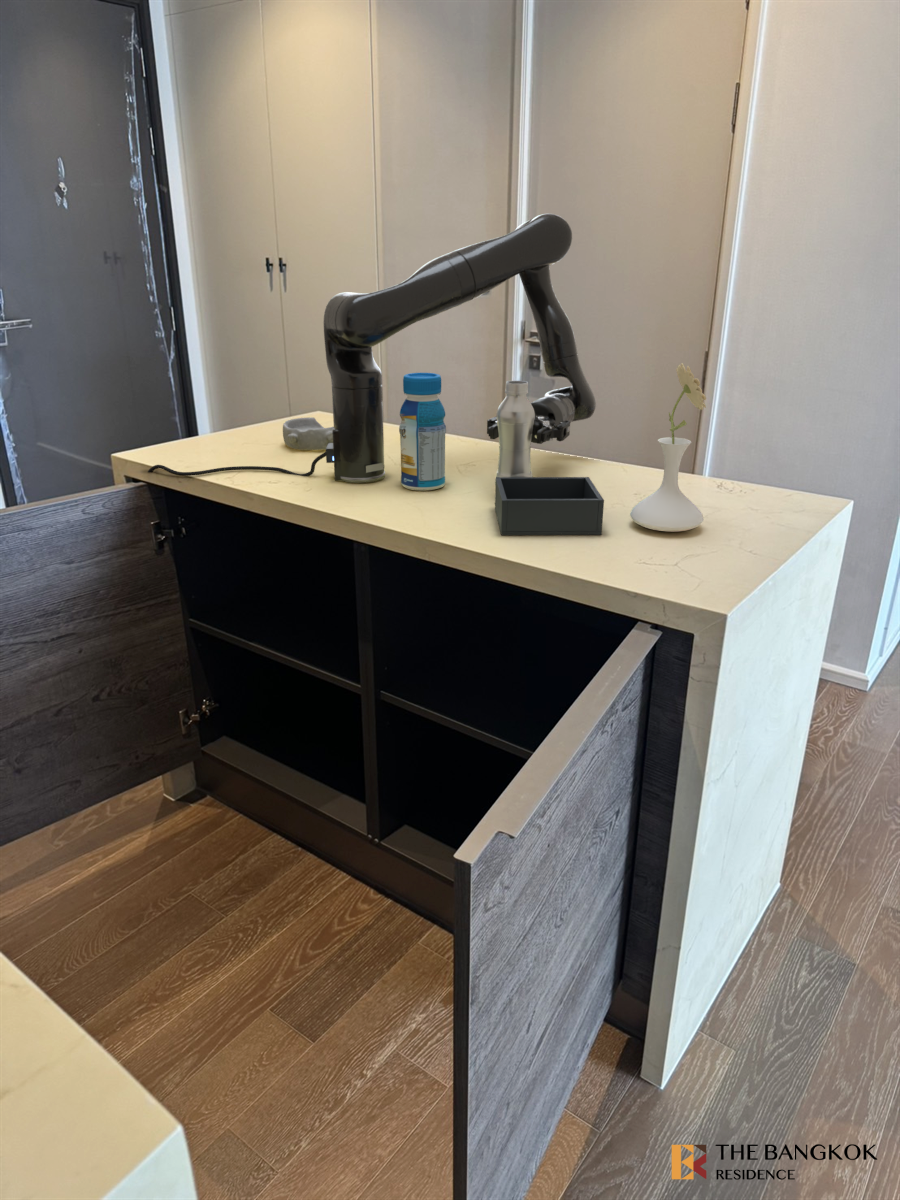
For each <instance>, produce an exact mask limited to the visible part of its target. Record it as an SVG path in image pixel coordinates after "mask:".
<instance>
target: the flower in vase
mask: <svg viewBox="0 0 900 1200" xmlns="http://www.w3.org/2000/svg"><path fill="white" fill-rule="evenodd" d="M675 371H676V374H677V378H678V383H679V385H680V386H681V387H682V391H681V393H680V394H679V396H678V398H677V399H676V401H675V404H674V406H673V407H672V411H671V413H670V412H668V416H669V419H668V421H669V422H670V429H669V431H670V432H671V436H667V437H661V438H657V443H658V444H659V445H660V447H661V450H662V454H663V465H664V466H663V474H662V475H663V476H662V481H661V484H660V486H659V487H658V489H656V490H655V491H654V492H652V493H651V494H649V495H648V496H646V497H645V498H643V499H642V500H640V501H639V502H637V504H635V505H634V506H633V507H632V509H631V511H630V513H629V517H630V518H631V520H632V521H633V523H635V524H637V525H639V526H641V527H643V528H646V529H649V530H654V531H660V532H669V533H670V532H672V533H673V532H685V531H689V530H693V529H696V528H698V527H700V526H701V524H703V522H704V516H703V513H702V511H701V510H700V509H699V507H698V506H697V505H696V504H695V503H694V502H693V501H692V500H691V499H689V497H687V495H685V494H684V493H683V492H682V491H681V489H680V486H679V472H680V467H681V462H682V459H683V456H684V453H685V452H686V450H687V448H689V446H690V445H691V444H692V441H691V440H690V439H688V438H684V437H676V436H675V431H677V430H679V429H681V428H682V427H685V426H686V425H687V422H686V420H685V419H683V420H682V421H681V422H680V423H679V424H677V425H675V421H674V415H675V411H676V408H677V407H678V405H679V403H680V401H681V399H682V397H683V396H684V395H686V397H687V399H689V401H690V403H691V404H692V405H694V408H696V409H698V410H699V411H702V410H704V409H706V408H707V405H706V404H705V402H704V401H706V400H707V397H706V395H705V393H703V389H702V388H701V387H700V385H701V381H700V380H699V378H698V377H695V375H694V373H693V372H692V370H691V367H690V366H689V365H687V366H686V367H685V364H684V363H683V362H681V363H680V364H678V365H676V368H675Z"/></svg>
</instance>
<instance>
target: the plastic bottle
mask: <svg viewBox="0 0 900 1200" xmlns="http://www.w3.org/2000/svg"><path fill="white" fill-rule="evenodd" d="M504 394H506V396H505V398H504V399H503V400H502V401H501V403H500V404H499V406H498V407H497V409H496V413H495V414H496V416H497V426H498V434H499V437H498V461H497V470H496V474H495V479H494V485H495V484H496V477H500V478H501V477H534V476H533V472H532V458H531V457H532V456H531V451H532V450H531V448H532V447H531V444H532V442H531V437H532V431H533V425H534V419H535V412H534V408H533V407H532V405H531V403H532V402H531V401H530V400H529V398H528V397H527V396H528V395H529V382H528V381H527V380H507V381H506V383H505V390H504ZM496 416H495V417H496Z"/></svg>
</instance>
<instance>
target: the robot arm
mask: <svg viewBox="0 0 900 1200" xmlns="http://www.w3.org/2000/svg"><path fill="white" fill-rule="evenodd" d="M572 242H573V231H572V228H571V226H570V223H568V221H567V220H566V219H565V218H564V217H562V216H560V215H558V214H555V213H542V214H539V215H536V216H535V217H533V218H530V219H529V220H527V221H525V222H523V223H521V224H520V225H518V226H517V227H516V228H515V229H514V230H513V231H511V232H509V233H507V234H504V235H502V236H497V237H494V238H490V239H487V240H484V241H480V242H477V243H473V244H470V245H467V246H464V247H462V248H461V247H460V248H459V249H455V250H453V251H450V252H449V253H445V254H443V255H441V256H438V257H435V258H434V259H431V260H430V261H428V262H426V263H425V264H424V265H422V266H420V267H419V268H418V269H417V270H416V271H415V272H414V273H413V274H412V275H410V276H409V277H408V278H407V279H405V280H404V281H401V282H400V283H397V284H395V285H392V286H388V287H386V288H384V289H379V290H376V291H372V292H367V293H361V292H351V291H345V292H339V293H336V294H335V295H333V296H332V297H331V298H330V299H329V301H328V302H327V304H326V306H325V309H324V313H323V338H324V349H325V360H326V361H325V362H326V367H327V370H328V373H329V375H330V380H331V381H330V382H331V396H332V397H331V400H332V419H333V427H334V429H333V431H332V434H333V443H328V445H327V447H326V450H325V452H323V453H321V454H319V455H318V456H316V457H315V458H314V460H313V461H312V463H311V466H310V471H308V472H306V473H296V472H294V471H291V470H287V469H285V468H281V467H276V466H261V465H260V466H259V465H240V466H225V467H224V466H223V467H218V468H210V469H205V470H200V471H199V470H198V471H177V470H174V469H171V468H169V467H168V466H165V465H163V464H155V465H153V466H151V467H150V468H148V470H147V473H153V472H154V471H155V470H157V469H160V470H163V471H166V472H167V473H170V474H172V475H175V476H182V477H190V476H191V477H192V476H201V475H209V474H213V473H219V472H220V473H221V472H228V471H254V470H255V471H273V472H279V473H283V474H287V475H292V476H293V475H294V476H301V477H311V476H312V475H313V474H314V472H315V469H316V464H317V463H318V462H319V461H320V460H322V459H323V458H325V462H326V464H333V471H334V481H336V482H345V483H354V484H362V483H363V484H364V483H373V482H377V481H381V480H383V479H384V478H385V477H386V470H385V467H386V465H385V445H384V444H385V441H384V440H385V437H384V405H383V404H384V403H383V402H384V401H383V374H382V370H381V369H380V367H379V366H378V364H377V362H376V361H375V358H374V354H373V347H375V346H376V345H378V344H380V343H382V342H384V341H386V340H387V339H389V338H391V337H392V336H394V335H395V334H397V333H399V332H401V331H402V330H404V329H405V328H408V327H409V326H412V325H413V324H415V323H417V322H421V321H422V320H426V319H429V318H432V317H434V316H436V315H439V314H442V313H444V312H447V311H450V310H452V309H455V308H457V307H459V306H462V305H464V304H466V303H469V302H470V301H473V300H475V299H477V298H479V297H480V296H482V295H484V294H487V293H488V292H490V291H492V290H493V289H495V288H496V287H497V288H498V287H499V286H500V285H502V284H503V283H505V282H507V281H508V280H510V279H512V278H513V277H515V276H517V275H518V276H519V278H520V281H521V283H522V287H523V290H524V293H525V295H526V299H527V302H528V304H529V307H530V310H531V313H532V317H533V321H534V324H535V328H536V332H537V336H538V342H539V348H540V352H541V357H542V362H543V368H544V373H545V374H546V376H548V377H550V378H565V379H566V380H568V382H569V383H570V384H571V385H570V386H565V387H561V388H556V389H553V390H549V391H547V392H546V393H544V395H543V397H539V398H538V399H536V400H533V401H532V402H530V403H531V405H532V407H533V408H534V412H535V419H534V425H533V431H532V437H531V443H532V444H537V445H542V444H544V443H546V442H551V441H553V439H556V442H557V441H558V442H563V441H565V440H566V439H567V438H568V437H569V436H570V432H571V423H573V422H577V421H578V422H579V421H584V420H588V419H590V418H591V417H593V415H594V412H595V411H596V407H597V406H596V405H597V404H596V403H597V402H596V397H595V394H594V392H593V390H592V387H591V386H590V383H589V382H588V379H587V378H586V376H585V372H584V371H583V368H582V366H581V362H580V359H579V354H578V349H577V342H576V338H575V333H574V329H573V325H572V323H571V321H570V319H569V317H568V316H567V314H566V312H565V309H564V308H563V307H562V305H561V303H560V301H559V300H558V297H557V295H556V292H555V290H554V286H553V283H552V278H551V270H550V269H551V268H550V266H552V265H555V264H557V263H559V262H560V261H562V259H564V258H565V256H567V254H568V253H569V251H570V248H571V247H572ZM486 435H488V437H489V439H490V440H497V439H499V434H498V426H497V416H493V417H491V418H489V419H487V420H486ZM158 637H159V643H160V644H164V636H163V635H159V636H158Z"/></svg>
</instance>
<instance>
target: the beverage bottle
mask: <svg viewBox="0 0 900 1200" xmlns="http://www.w3.org/2000/svg"><path fill="white" fill-rule="evenodd" d="M402 387H403V388H402V389H403V390H402V391H403V394H404V396H406V398H405V399H404V400H403V403H402V405H401V407H400V410H399V417H400V419H401V422H400V424H399V428H398V432H399V437H400V438H399V441H400V443H399V445H400V484H401V486H402V487H404V488H405V489H407V490H411V491H420V492H423V491H425V492H427V491H434V490H438V489H441V488H443V487H444V486H445V485H446V434H447V426H446V423H445V420H444V419H445V417H446V410H445V407H444V404H443V403H442V401H441V399H440V398H439V397H438V396H439V395H441V393H442V376H441V375H440V374H438V373H433V372H411V373H406V374H404V375H403V378H402Z"/></svg>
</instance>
